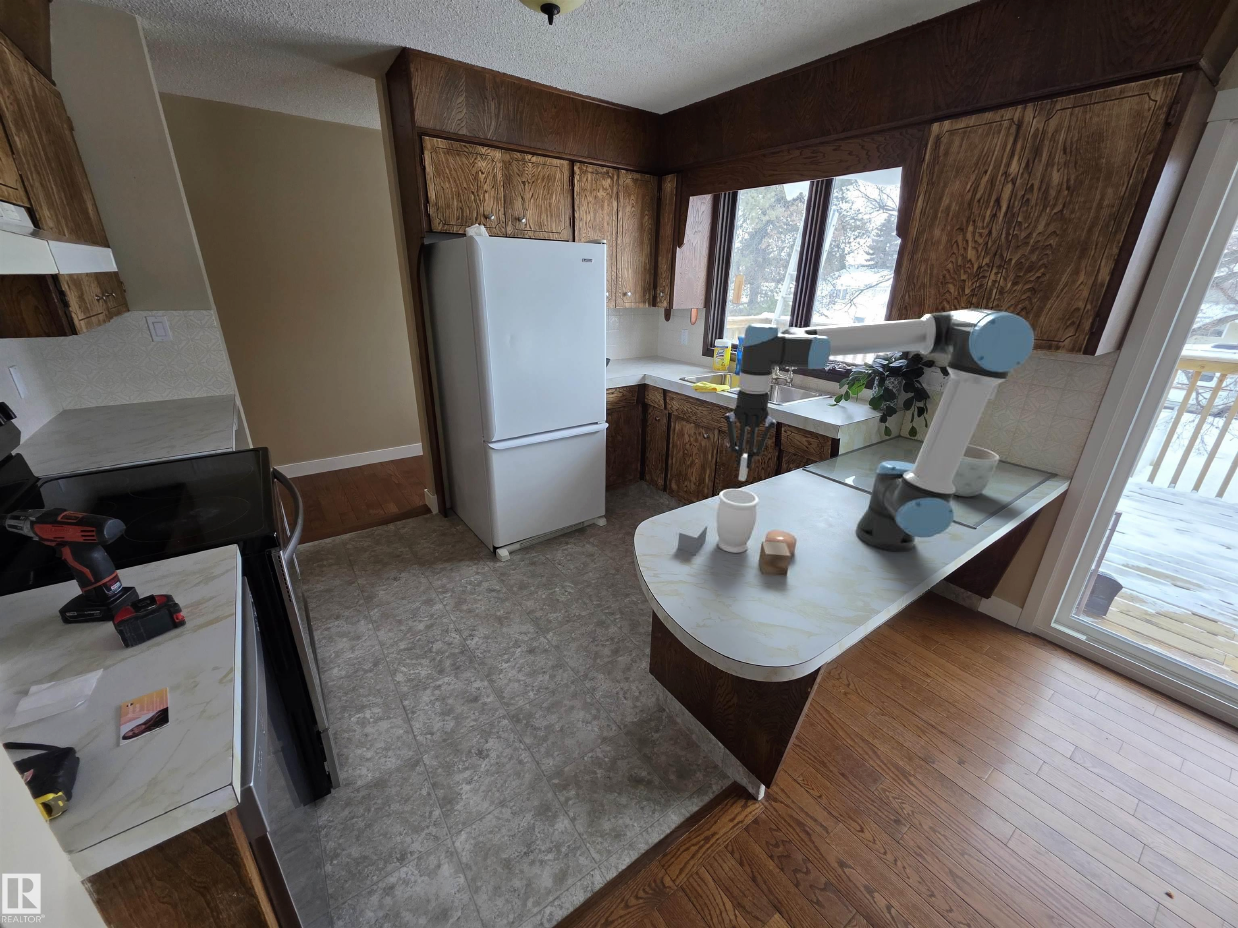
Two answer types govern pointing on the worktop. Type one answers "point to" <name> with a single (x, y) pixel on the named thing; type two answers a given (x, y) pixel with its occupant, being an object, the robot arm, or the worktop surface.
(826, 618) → the worktop surface
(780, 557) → the walnut block
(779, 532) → the glossy peach dome
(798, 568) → the worktop surface
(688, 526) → the slate block
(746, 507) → the jar
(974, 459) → the planter
